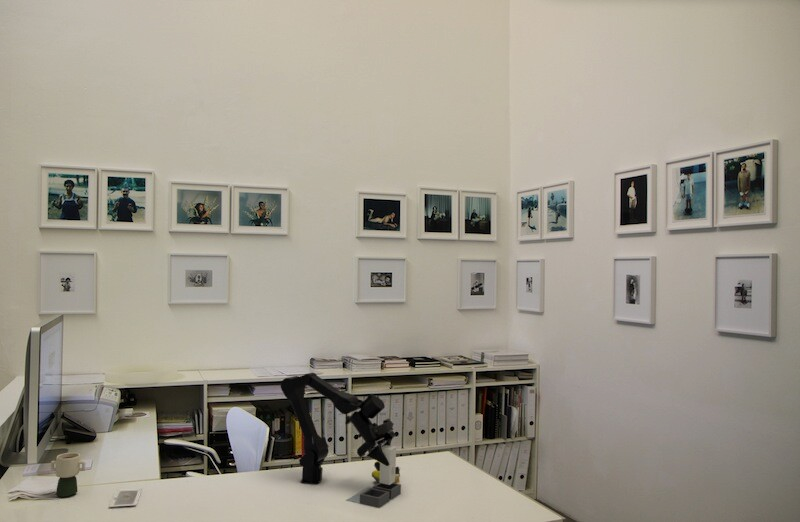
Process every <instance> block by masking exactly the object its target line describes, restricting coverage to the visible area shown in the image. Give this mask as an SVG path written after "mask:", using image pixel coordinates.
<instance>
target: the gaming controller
mask: <svg viewBox="0 0 800 522" xmlns="http://www.w3.org/2000/svg"><path fill="white" fill-rule="evenodd" d="M373 466H374V468H375V470H373V471H372V472H371V477H372V478H373V479H374V480H375V481H376V482H377V483H379V477H380V462H379V461H377V460H376V461H375V462H374V465H373ZM400 470H401V467H400V466H396V468H395V482H394V483H396V484H399V482H400V476H401V472H400Z"/></svg>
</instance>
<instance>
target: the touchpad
mask: <svg viewBox="0 0 800 522" xmlns="http://www.w3.org/2000/svg"><path fill="white" fill-rule="evenodd" d="M142 491H143V488H136V489H135V488H134V489H130V488H129V489H117V490H116V492H115V494H114V496H113V498H112V500H111V502H110V504H109V508H110V507H111V508H114V507H128V506H137V504H138V501H139V498H140V495H141V493H142Z"/></svg>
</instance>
